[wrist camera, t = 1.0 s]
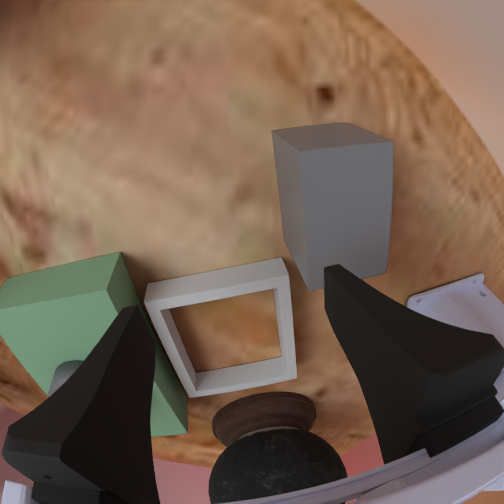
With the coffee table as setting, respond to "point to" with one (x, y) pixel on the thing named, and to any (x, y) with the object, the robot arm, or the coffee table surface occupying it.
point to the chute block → (335, 198)
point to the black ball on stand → (270, 449)
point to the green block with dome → (157, 304)
